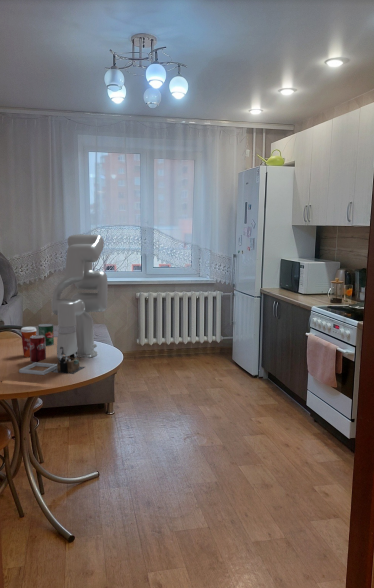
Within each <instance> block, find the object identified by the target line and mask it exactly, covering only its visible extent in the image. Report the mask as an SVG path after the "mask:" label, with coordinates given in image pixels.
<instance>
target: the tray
mask: <svg viewBox="0 0 374 588" xmlns="http://www.w3.org/2000/svg"><path fill="white" fill-rule="evenodd" d="M34 367H45V369H44V370H36V369H32V368H34ZM55 369H57V363H48V362H35V363H31V364H28V365H25V366H23V367H22V368H20V369H19V370H18V372H19V374H29V375H30V374H31V375H43V376H45V375H46V374H48V373H51V371H53V370H55Z"/></svg>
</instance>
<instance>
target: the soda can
mask: <svg viewBox="0 0 374 588" xmlns="http://www.w3.org/2000/svg"><path fill="white" fill-rule="evenodd" d="M29 342H30V357H29V359H30V362H31V364H33V363H35V362H37V363H40V362H42V361H44V360H46V359H47V346H46V342H45V336H43V335H39V334H38V335H37V334H36V335H35V336H31V337H30V338H29Z"/></svg>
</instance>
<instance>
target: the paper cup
mask: <svg viewBox="0 0 374 588" xmlns="http://www.w3.org/2000/svg"><path fill="white" fill-rule="evenodd" d="M20 333H21V343H22V352H23V353H22V354H23V357H25V358H30V342H29V338H30V337H31V336H35V335H37V328H36V326H25V327H24V326H23V327H21V329H20Z"/></svg>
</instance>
